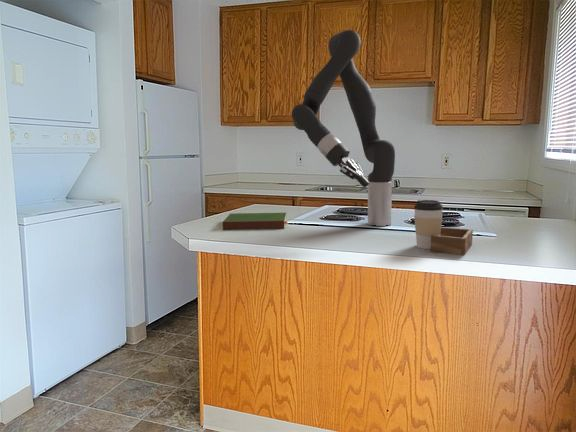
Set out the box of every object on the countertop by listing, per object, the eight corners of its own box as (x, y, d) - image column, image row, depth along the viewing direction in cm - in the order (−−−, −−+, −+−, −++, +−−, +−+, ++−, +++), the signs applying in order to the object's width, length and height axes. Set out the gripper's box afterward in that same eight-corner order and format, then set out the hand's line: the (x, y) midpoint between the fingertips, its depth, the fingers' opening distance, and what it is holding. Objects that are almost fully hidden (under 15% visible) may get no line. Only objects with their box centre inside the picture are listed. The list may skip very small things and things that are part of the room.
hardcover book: (223, 231, 185) (222, 221, 185) (230, 222, 204) (230, 213, 203) (286, 230, 184) (285, 220, 184) (288, 221, 203) (287, 212, 202)
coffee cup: (442, 243, 154) (443, 198, 152) (442, 250, 146) (443, 202, 143) (413, 242, 157) (414, 198, 154) (412, 249, 149) (413, 202, 146)
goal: (440, 241, 157) (440, 227, 156) (472, 244, 152) (472, 229, 151) (430, 251, 145) (431, 235, 144) (464, 255, 140) (465, 238, 139)
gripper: (331, 142, 155) (367, 180, 152) (347, 140, 167) (381, 175, 163) (318, 159, 159) (352, 195, 155) (334, 155, 170) (366, 190, 166)
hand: (367, 185), depth 159 cm, fingers closed
